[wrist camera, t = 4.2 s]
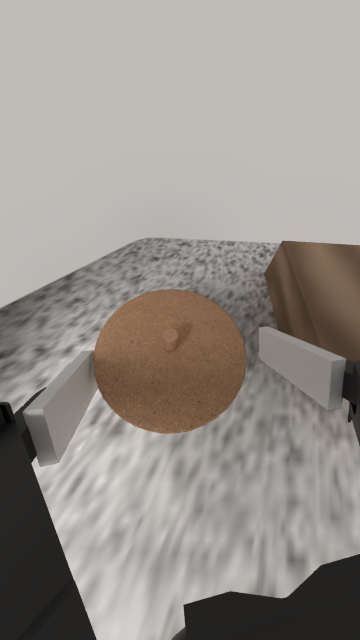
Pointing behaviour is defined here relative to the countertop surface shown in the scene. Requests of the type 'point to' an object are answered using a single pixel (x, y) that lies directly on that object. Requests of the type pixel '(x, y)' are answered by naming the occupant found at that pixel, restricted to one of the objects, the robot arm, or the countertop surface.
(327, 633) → the robot arm
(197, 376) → the lidded jar
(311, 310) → the walnut box
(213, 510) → the countertop surface
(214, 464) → the countertop surface
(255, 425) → the countertop surface
